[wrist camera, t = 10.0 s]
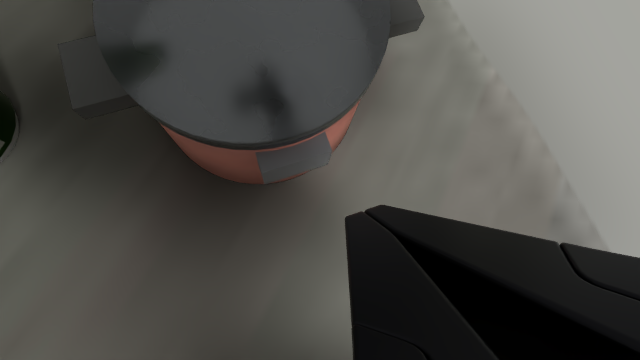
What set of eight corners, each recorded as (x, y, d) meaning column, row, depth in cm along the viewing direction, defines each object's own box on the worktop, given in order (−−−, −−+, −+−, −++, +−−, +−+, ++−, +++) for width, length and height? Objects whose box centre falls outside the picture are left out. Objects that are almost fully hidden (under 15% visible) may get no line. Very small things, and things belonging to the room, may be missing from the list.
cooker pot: (421, 149, 22) (470, 104, 16) (151, 237, 19) (94, 221, 14) (350, -16, 24) (370, -108, 18) (102, 43, 22) (34, -41, 16)
